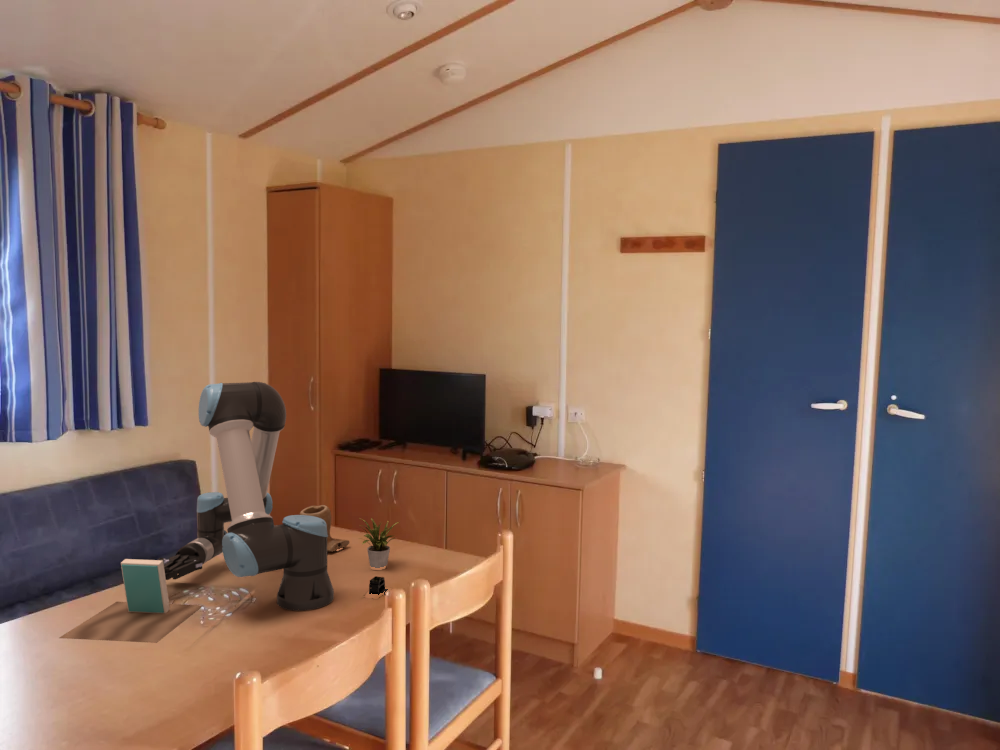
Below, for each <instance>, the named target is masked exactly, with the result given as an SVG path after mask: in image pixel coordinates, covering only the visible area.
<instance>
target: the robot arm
mask: <svg viewBox="0 0 1000 750" xmlns="http://www.w3.org/2000/svg"><path fill="white" fill-rule="evenodd" d="M198 420H199V423H200V425H201V426H202V427H204V428H206V427H207V428H208V432H209V434H210V436H212V437H214V438H215V439H216V443H217V447H218V452H219V453H218V454H219V459H220V464H221V469H222V474H223V479H224V485H225V490H226V497H224V494H223V493H222V492H218V491H215V492H205V493H202V494H200V495H198V496H197V500H196V501H197V502H196V523H197V526H196V527H197V528H196V529H197V530H196V531H197V532H196V535H197V538H195V539H193V540H192V541H190V542H188V543H187V544H185V545H183V546H181V547H180V548H179V549H178V551H176V554H175V555H173V556H171V557H169V558H168V559H166V558H164V557H159V558H158V560H163V564H164V571H165V578H166V581H169V580H171V579H172V580H175V581H176V580H177V579H180V578H182V577H185V576H187V575H189V574H191V573H193V572H196V571H199V570H200V571H201V570H202V569H203V565H205V563H208V561H211V560H212V559H215V557H217V556H219V555H220V554H222V555H223V559H224V561H225V564H226V566H227V568H228V570H229V571H230V572H231V574H233V576H235V577H237V578H246V577H255V576H257V575H261V574H264V573H269V572H274V571H279V570H283V575H282V578H281V582H280V585H279V588H278V591H277V593H276V604H277V606H278V607H280V608H282V609H284V610H288V611H296V612H297V611H302V612H303V611H310V610H311V611H312V610H316V609H320V608H322V607H325V606H327V605H329V604H330V603H332V602H333V600H334V598H335V596H334V595H335V593H334V592H335V588H334V587H333V584H332V581H331V579H330V576H329V575H330V574H329V573H328V551H327V537H328V534H327V524H326V522H325V521H324V520H323V519H321V518H318V517H314V516H308V515H300V514H294V515H293V514H291V515H287V516H284V517H283V519H282V523H281V524H276V525H275V523H274V519H273V516H271V513H272V511H273V498H272V496H271V494H270V493H269V492H268V489H269V484H270V480H271V475H272V470H273V466H274V462H275V455H276V451H277V447H278V442H279V437H280V432H281V431H283V430H284V429H285V427H286V426H285V425H286V421H287V409H286V404H285V401H284V400H283V398H282V396H281V394H280V393H279V391H277V389H276V388H274V387H273V386H272V385H270V384H268V383H266V382H262V381H261V382H260V381H251V382H248V381H247V382H224V383H223V382H220V383H209V384H207V385H205V386H204V388H203V389H202V391H201V394H200V395H199V402H198ZM252 428H253V430H252ZM251 430H252V435H250V431H251ZM225 523H230V524H229V525H228V527H227V531H226V530H225Z"/></svg>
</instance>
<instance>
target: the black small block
mask: <svg viewBox="0 0 1000 750" xmlns="http://www.w3.org/2000/svg"><path fill="white" fill-rule="evenodd" d="M385 587H386V580H385V577H383V576H378V575H377V576H374V577H372V578H370V580H369V585H368V591H369V594H371V593H372V594H378V595H379V594H380V593H383V592H384V591H385V592H386V591H387V590H388V589H385ZM385 592H384V596H386V594H385Z"/></svg>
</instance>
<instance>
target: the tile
mask: <svg viewBox="0 0 1000 750" xmlns="http://www.w3.org/2000/svg"><path fill="white" fill-rule="evenodd" d="M120 566H121V567H120V569H121V574H122V579H123V586H124V592H125V593H124V594H125V599H126V602H127V606H128V612H144V613H167V612H168V610H169V609H170V606H169V604H170V600H169V599H170V598H169V594H168V593H169V592H168V587H167V580H166V578H165V571H164V564H163V560H159V559H157V560H155V559H134V558H133V559H132V558H124V559H123V560H122V561H120Z"/></svg>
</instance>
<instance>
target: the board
mask: <svg viewBox="0 0 1000 750" xmlns="http://www.w3.org/2000/svg"><path fill="white" fill-rule="evenodd" d="M169 606H170V609H169V610H168V612H167V613H144V612H128V606H127V601H115V602H114V603H112V604H111V605H109V606H107V607H106V608H104V609H102V610H101V611H100V612H98V613H96V614H95V615H93V616H92V617H90V618H88V619H86V620H85V621H83V622H82V623H80V624H79V625H77V626H75V627H73V628H72V629H71V630H69V631H67V632H66V633H64V634H63V635H61V636H59V637H58V638H59V639H68V640H69V639H72V640H90V641H91V640H92V641H112V642H113V641H114V642H134V643H135V642H136V643H152V644H153V643H155V644H157V643H158V642H159V641H161V640H162V639H164V638H165V637H166V636H168V635H169V634H170V633H171V632H173V631H174V629H176V628H177V627H179V626H180V625H181V624H183V623H184V622H185V621H186V620H188V619H189V618H190V617H192V616H193V615H194V614H195V613H197V612H198V611H199V610H200V609H201V608H203V607H204V606H205V605H202V604H201V605H198V604H184V603H183V604H179V603H169Z"/></svg>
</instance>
